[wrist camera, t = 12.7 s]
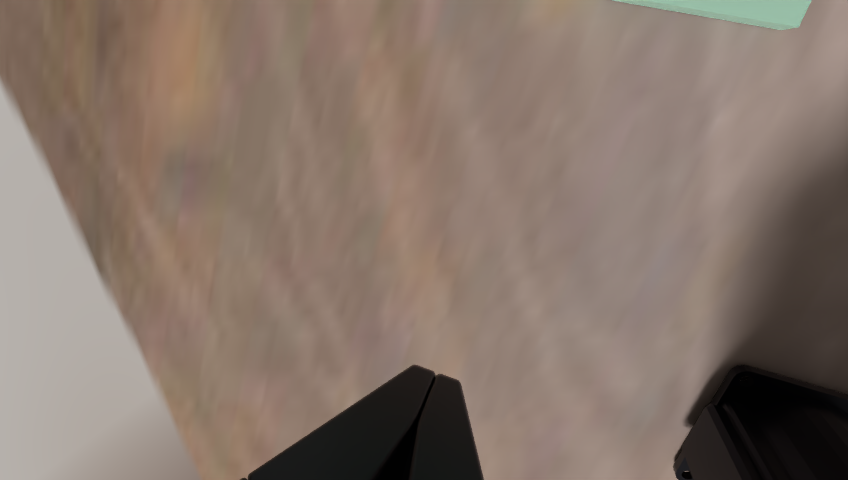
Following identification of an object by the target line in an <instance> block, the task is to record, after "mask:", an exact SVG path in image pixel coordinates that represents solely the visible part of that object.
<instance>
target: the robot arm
mask: <svg viewBox="0 0 848 480" xmlns="http://www.w3.org/2000/svg"><path fill="white" fill-rule="evenodd" d="M745 376H749V378H748V379H747V380H740V379H741V378H742V377H745ZM673 468H674V471H675V475H676V478H677V479H678V480H848V395H847V394H843V393H840V392H836V391H833V390H830V389H826V388H823V387H819V386H816V385H812V384H809V383H806V382H802V381H799V380H795V379H792V378H789V377H785V376H782V375H778V374H775V373H771V372H768V371H765V370H761V369H758V368H754V367H751V366H746V365H740V366H736V367H734V368H732V369H731V370H730V371H729V373H728V375H727V376H726V378H725V380H724V381H723V383H722V385H721V386H720V388H719V390H718V391H717V393H716V395H715V396H714V398H713V400H712V401H711V403H710V404H709V405H708V406H706V407H705V408H704V410H703V411H702V413H701V415H700V416H699V418H698V420H697V421H696V423H695V425H694V426H693V428H692V430H691V431H690V433H689V435H688V436H687V438H686V440H685V441H684V443H683V445H682V451H681V453H680V455H679V456H678V458H677V460H676V461H675V463H674V466H673ZM684 471H689V472H684ZM240 480H247V479H246V478H242V479H240ZM248 480H484V478H483V474H482V470H481V466H480V462H479V457H478V453H477V449H476V445H475V441H474V436H473V432H472V428H471V424H470V420H469V416H468V411H467V407H466V403H465V399H464V395H463V391H462V386H461V383H460V382H459V381H458V380H456V379H454V378H451V377H448V376H445V375H443V374H438V375H436V377H435V373H434V371H432V370H429V369H426V368H423V367H421V366H418V365H412V366H410V367H409V368H407V369H406V370H404V371H403V372H401V373H400V374H398V375H397V376H395V377H394V378H392V379H391V380H389V381H388V382H386V383H385V384H383V385H382V386H380V387H379V388H377V389H376V390H374V391H373V392H371V393H370V394H368V395H367V396H365V397H364V398H362V399H361V400H359V401H358V402H356V403H355V404H353V405H352V406H350V407H349V408H347V409H346V410H344V411H343V412H341V413H340V414H338V415H337V416H335V417H334V418H332V419H331V420H329V421H328V422H326V423H325V424H323V425H322V426H320V427H319V428H317V429H316V430H314V431H313V432H311V433H310V434H308V435H307V436H305V437H304V438H302V439H301V440H299V441H298V442H296V443H295V444H293V445H292V446H290V447H289V448H287V449H286V450H284V451H283V452H281V453H280V454H278V455H277V456H275V457H274V458H272V459H271V460H269V461H268V462H266V463H265V464H263V465H262V466H260V467H259V468H257V469H256V470H254V471H253V472H251V473H250V474H249V475H248Z"/></svg>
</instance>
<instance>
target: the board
mask: <svg viewBox="0 0 848 480" xmlns="http://www.w3.org/2000/svg"><path fill="white" fill-rule="evenodd" d="M613 1H619V2H624V3H630V4H636V5H642V6H647V7H653V8H659V9H664V10H670V11H676V12H681V13H687V14H693V15H698V16H704V17H710V18H715V19H721V20H727V21H732V22H738V23H744V24H749V25H755V26H761V27H766V28H772V29H778V30H785V29H791V28H797V27H799V25H800V23H801V21H802V19H803V17H804V15H805V13H806V11H807V9H808V7H809V4H810V2H811V0H613Z"/></svg>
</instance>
